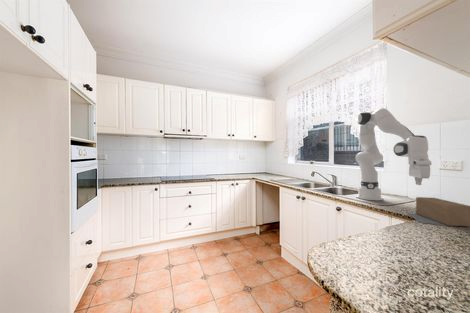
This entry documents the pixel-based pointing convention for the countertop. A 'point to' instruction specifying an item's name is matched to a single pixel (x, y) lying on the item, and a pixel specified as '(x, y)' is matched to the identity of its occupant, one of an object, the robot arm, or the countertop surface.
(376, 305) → the countertop surface
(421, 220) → the mat
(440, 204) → the wooden block
